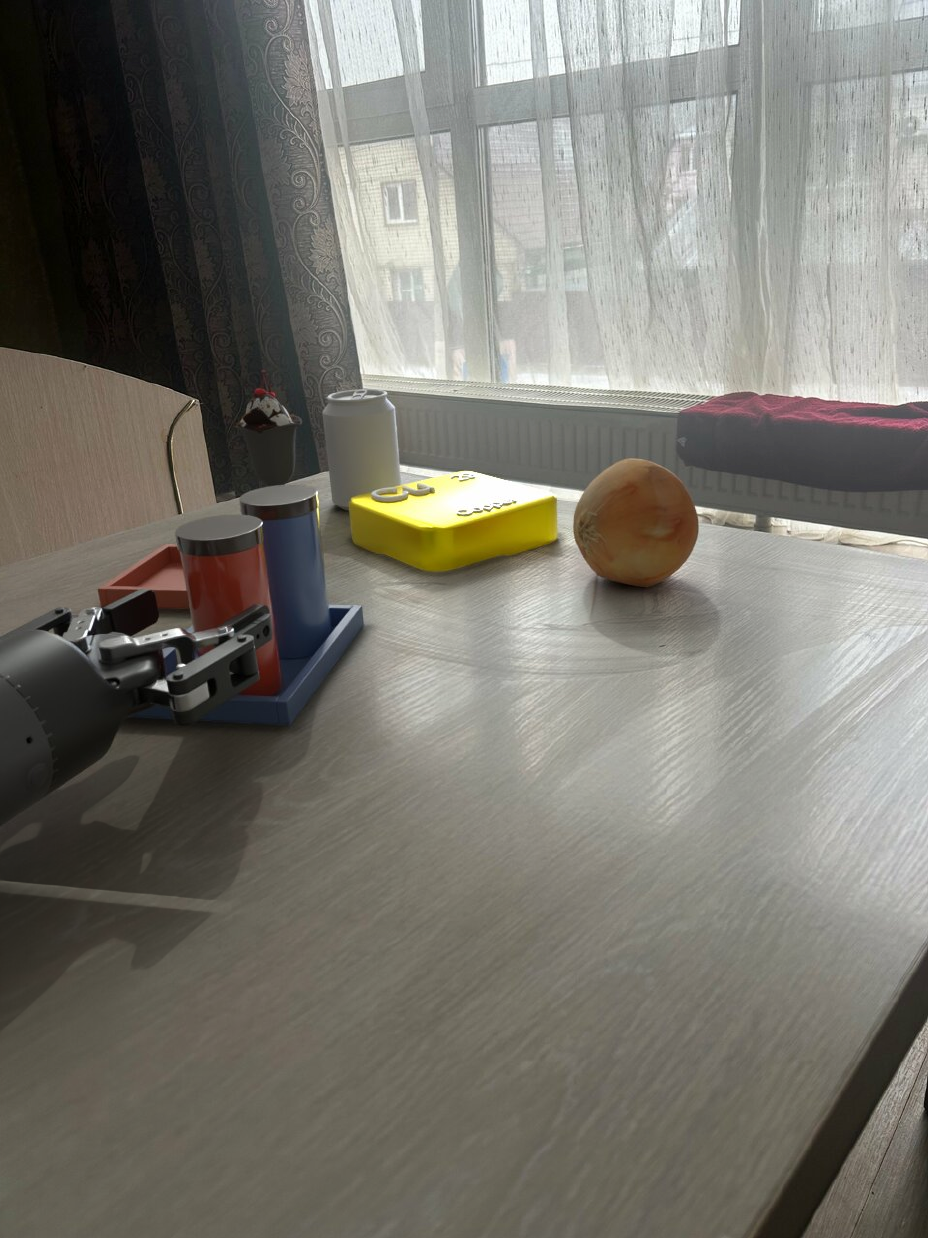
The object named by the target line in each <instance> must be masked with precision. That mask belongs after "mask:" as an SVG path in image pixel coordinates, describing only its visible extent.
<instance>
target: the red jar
mask: <svg viewBox="0 0 928 1238" xmlns="http://www.w3.org/2000/svg"><path fill="white" fill-rule="evenodd" d="M174 537H175V538H174V539H175V544H177V548H178V550H179V551H180V556H181V562H182V568H183V573H184V579H185V585H186V590H187V596H188V602H189V607H190V609H189V612H190V618H191V623H192V624H191V625H193V630H194V633H195V632H199V631H204V630H208V629H212V628H216V627H219V625H221V624H222V623H224V622H226V621H227V620H229V619H231V618H232V617H234V616H236V615H237V614H239V613H241V612H242V611H244V610H245V609H247V608H249V607H250V606H252V605H254V604H259V605H266V606H268V608H269V611H270V615H271V622H272V629H273V638H272V640H271V641H269V642H268V643H266V644H265V645H263V646H261V647H260V648H259V649H257V650H256V657H257V664H258V671H259V677H260V679H259V681H257V682H256V683H254V684H253V685H251V686H250V687H248V688H247V689H245V690H244V691H242V692H241V693H239V694H238V695H250V696H272V697H274V696H275V695H277V694H278V693H279V692H280V691H281V689H282V687H283V676H282V669H281V662H280V655H279V648H278V641H277V634H276V626H275V619H274V612H273V605H272V598H271V591H270V584H269V577H268V570H267V562H266V555H265V548H264V541H263V540H264V537H265V536H264V529H263V522H262V520H261V519H259V518H257V517H254V516H249V515H242V514H221V515H213V516H206V517H202V518H197V519H194V520H191V521H188V522H186V523H184V524H182V525H180V526H179V527H177V528H176V529H175V531H174ZM212 649H214V647H213V645H211V646H207V647H202V648H199V649H197V653H198V658H199V657H200V656H202V655H204V654H205V653H207V652H209V651H211V650H212ZM231 675H232V674H231ZM231 675H230V676H231Z"/></svg>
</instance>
